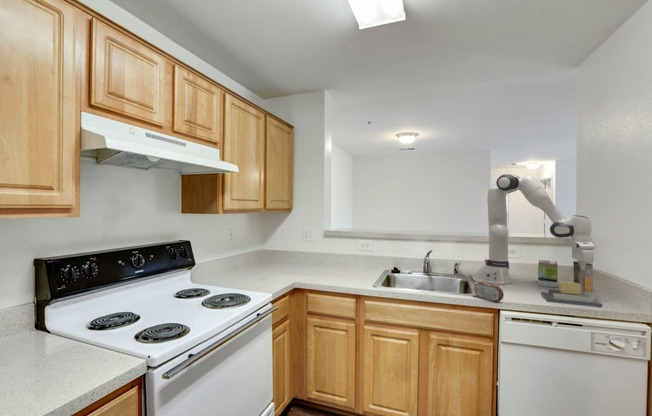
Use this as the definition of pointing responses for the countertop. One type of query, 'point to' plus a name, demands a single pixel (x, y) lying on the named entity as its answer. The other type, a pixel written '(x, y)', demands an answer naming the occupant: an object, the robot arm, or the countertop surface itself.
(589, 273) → the coffee box
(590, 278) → the sliding jaw
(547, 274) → the tea box
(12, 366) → the countertop surface
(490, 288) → the tin
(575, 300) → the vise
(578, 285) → the brass block
